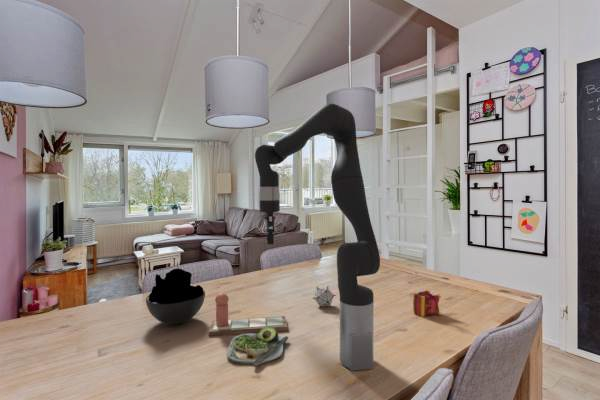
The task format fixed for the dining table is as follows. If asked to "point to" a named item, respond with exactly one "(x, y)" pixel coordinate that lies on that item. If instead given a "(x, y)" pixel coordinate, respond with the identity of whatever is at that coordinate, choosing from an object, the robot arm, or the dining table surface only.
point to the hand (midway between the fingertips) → (269, 242)
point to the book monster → (426, 303)
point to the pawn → (221, 310)
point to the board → (248, 326)
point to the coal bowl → (175, 297)
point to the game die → (323, 297)
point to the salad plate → (257, 346)
